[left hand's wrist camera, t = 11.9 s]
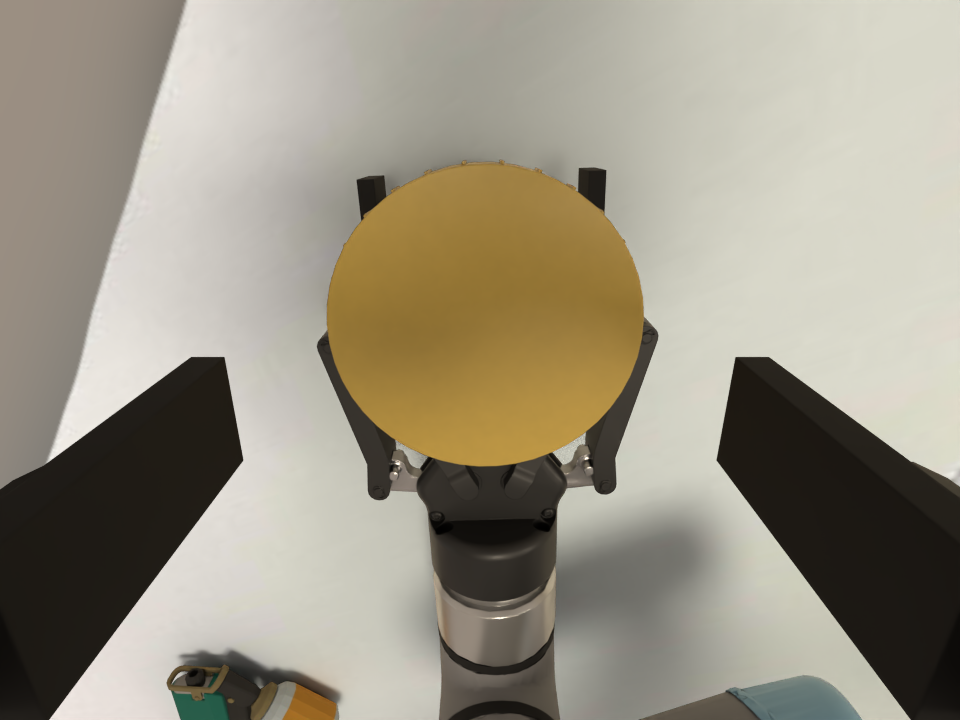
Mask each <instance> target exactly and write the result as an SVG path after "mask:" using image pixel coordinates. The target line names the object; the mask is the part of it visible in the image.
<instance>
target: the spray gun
mask: <svg viewBox="0 0 960 720" xmlns="http://www.w3.org/2000/svg"><path fill="white" fill-rule="evenodd" d="M228 670H229V666H227V665H223V666H222V667H221V668H216V667H201V666H186V665H184V666H179V667H177V668H176V669H175V670H174V671H173V672H172V673H171V675H170V676H169V678H168V680H167V686H168V689H169V690H171V692H172V695H173V698H174V701H175V704H176V707H177V710H178V713H179V716H180V719H181V720H339V712H338V706H337V704H336V703H334V702H332V701H330V700H328V699H326V698H324V697H322V696H320V695H318V694H316V693H314V692H312V691H310V690H308V689H306V688H304V687H302V686H300V685H298V684H296V683H294V682H289V681H285V682H283V683H281V684H278V685H277V684H275V683H273V682H270V683H269V684H267V685H266V686H265V687H263V688H261V689H260V688H259V687H258V686H256V685H255V684H253V683H251V682H250V681H248V680H246V679H245V678H243V677H241V676H240V675H238V674H236V673H235V672H233V671H231V670H229V671H228ZM182 671H189V672H188V673H187V674H185V675H183V676H181V677H179V678H177V679H176V680H175V681H174V682H173V680H174V678H175V677H176V675H177V674H178V673H180V672H182ZM212 673H215V674H214V676H213V675H212ZM218 673H220V674H218ZM172 682H173V684H172Z"/></svg>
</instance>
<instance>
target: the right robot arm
mask: <svg viewBox="0 0 960 720" xmlns="http://www.w3.org/2000/svg"><path fill="white" fill-rule="evenodd" d="M357 187H358V196H359V204H360V213H361V221H362V220H363V219H364V218H365V217H363V216H364V214H366V213H367V212H369V211H370V210H372V209H373V208H374V207H375V206H377V205H378V204H379V203H380V202H381V201H382V200H383V199H384V198H386V190H385V180H384V176H368V177H364V178H361V179H358V180H357ZM605 188H606V170H603V169H599V168H579V180H578V192H579V193H580V194H581V195H582V196H584V197H585V198H586V199H587V200H589V201H590V202H591V203H592V204H594V205H595V206H596V207H598V208H599V209H601V210H603V211H604V209H605ZM657 341H658V333H657V331H656V329H655V328H654V327H653V326H652V325H651V324H650V323H649V322H648V321H647V319H646V318H645V317H644V321H643V332H642V340H641V344H640V349H639V353H638V357H637V360H636V362H635V365H634V368H633V370H632V373H631V375H630V377H629V379H628V381H627V383H626V385H625V387H624V389H623V390H622V392H621V394H620V395H619V396H618V398H617V399H616V401H615V402H614V403H613V405H612V406H611V408H610V409H609V410H608V411H607V412H606V413H605V414H604V415H603V416H602V417H601V419H600V420H599V421H598V422H597V423H595V424H594V425H593V426H592V427H591V428H590V429H588V430H587V431H586V437H585V445H583V444H582V445H579V446H578V448H577V450H576V451H575V452H574V456H573V459H572V461H571V462H569V463H568V464H564V465H562V463H561V462H560V461H559V460H558V458H557V457H556V456H555V455H554V454H553V453H552V452H551V453H549V454H546V455H543V456H541V457H538V458H535V459H532V460H528V461H524V462H520V463H516V464H508V465H501V466H470V465H460V464H455V463H450V462H446V461H441V460H438V459H435V458H432V457H428V458H427V459H426V461H425V462H424V463H423V465H422V466H421V468H420V469H419V468H415V467H413V466H412V465H410V463H409V461H408V458H407V456H406V455H405V454H404V451H403V450H400V449H398V450H396V442H395V439H393V438H392V437H390V436H389V435H388V434H387V433H385V432H384V431H383V430H382V429H380V428H379V427H378V426H377V425H376V424H375V423H374V422H373V421H372V420H371V419H370V418H369V417H368V416H367V415H366V414H365V413H364V412H363V411H362V410H361V408H360V407H359V406H358V404H357V403H356V402H355V401H354V399H353V398H352V397H351V395H350V393H349V391H348V390H347V388H346V386H345V385H344V383H343V381H342V379H341V377H340V374H339V372H338V369H337V367H336V365H335V362H334V359H333V355H332V351H331V348H330V344H329V336H328V330H327V331H326V333H325V334H324V335H323V336H322V337H321V339H320V340H319V341H318V344H317V349H318V352H319V354H320V357H321V359H322V361H323V364H324V366H325V368H326V371H327V373H328V375H329V377H330V380H331V382H332V384H333V387H334V389H335V391H336V394H337V396H338V398H339V400H340V403H341V405H342V407H343V410H344V412H345V414H346V417H347V419H348V421H349V423H350V426H351V428H352V430H353V433H354V435H355V437H356V440H357V442H358V444H359V446H360V449H361V451H362V453H363V456H364V458H365V460H366V463H367V469H368V493H369V495H370V496H371V497H372V498H373V499H375V500H384V499H386V498H387V497H388V496H389V493H390V491H409V492H417V493H418V495H419V497H420V498H421V499H422V501H423V502H424V503H425V505H426V507H427V511H428V519H429V531H430V542H431V554H432V563H433V567H434V573H433V579H434V588H435V598H436V608H437V617H438V629H439V635H440V651H441V673H442V683H441V700H440V713H439V720H560V716H559V708H558V701H557V693H556V685H555V671H554V622H555V608H556V567H555V563H556V546H557V507H558V503H559V501H560V499H561V497H562V496H563V494H564V493H565V491H566V488H573V487H582V486H592V485H594V487H595V490H596V491H597V492H598V493H600V494H609V493H611V492H613V491H614V490H615V488H616V466H615V457H616V454H617V451H618V449H619V446H620V443H621V440H622V438H623V435H624V432H625V429H626V426H627V424H628V421H629V418H630V415H631V413H632V410H633V407H634V404H635V402H636V399H637V396H638V393H639V390H640V388H641V385H642V382H643V379H644V377H645V374H646V371H647V368H648V366H649V363H650V360H651V357H652V355H653V352H654V349H655V346H656V343H657ZM640 720H862V719H861V718H860V716H859V715H858V713H857V712H856V710H855V709H854V708H853V707H852V705H851V704H850V703H849V701H848V700H847V699H846V698H845V697H844V696H843V695H842V694H841V693H840V692H839V691H838V690H837V689H836V688H835V687H834V686H832V685H831V684H830V683H828V682H826V681H825V680H823V679H821V678H818V677H814V676H804V675H802V676H798V677H793V678H789V679H785V680H780V681H776V682H771V683H767V684H762V685H758V686H754V687H749V688H745V689H739V688H735V687H734V688H730V689H728V690H726V691H725V693H722V694H719V695H715V696H712V697H709V698H706V699H703V700H700V701H696V702H693V703H690V704H687V705H684V706H681V707H677V708H674V709H671V710H668V711H665V712H662V713H658V714H655V715H652V716H649V717H646V718H643V719H640Z"/></svg>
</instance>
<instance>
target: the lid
mask: <svg viewBox="0 0 960 720" xmlns="http://www.w3.org/2000/svg"><path fill="white" fill-rule="evenodd" d="M424 173H425V175H423V176H421V177H419V178H417V179H415V180H413V181H411V182H409V183H407V184H405V185H404V186H402V187H400V186H398V187H396V188H394V189H392V190H391V192H392V193H391V194H390V195H388V196H387V197H386V198H384V199H383V200H382V201H381V202H380V203H379V204H378V205H377V206H375V207H374V208H373V209H372V210H370V211H369V212H367V213H366V214H364V216H363V217H365V218H364V219H363V220H362V221H361V222H360V223H359V225H358V226H357V227H356V228H355V230H354V231H353V233H352V234H351V236H350V238H349V239H348V241H347V242H346V243H345V244H344V245H343V247H344V248H343V250H342V252H341V254H340V256H339V259H338V261H337V263H336V265H335V269H334V272H333V276H332V278H331V283H330V287H329V294H328V301H327V329H328V336H329V344H330V348H331V351H332V355H333V359H334V362H335V365H336V367H337V369H338V372H339V374H340V377H341V379H342V381H343V383H344V385H345V386H346V388H347V390H348V391H349V393H350V395H351V397H352V398H353V399H354V401H355V402H356V403H357V404H358V406H359V407H360V408H361V410H362V411H363V412H364V413H365V414H366V415H367V416H368V417H369V418H370V419H371V420H372V421H373V422H374V423H375V424H376V425H377V426H378V427H379V428H380V429H382V430H383V431H384V432H385V433H387V434H388V435H389V436H390V437H392V438H393V439H395V440H397V441H398V442H400V443H402V444H403V445H405V446H406V447H408V448H411V449H413V450H415V451H417V452H419V453H421V454H423V455H426V456H429V457H432V458H435V459H438V460H441V461H446V462H450V463H455V464H460V465H470V466H501V465H508V464H516V463H520V462H524V461H528V460H532V459H535V458H538V457H541V456H543V455H546V454H549V453H551V452H553V451H555V450H557V449H559V448H561V447H563V446H565V445H567V444H569V443H570V442H572V441H573V440H575V439H576V438H578V437H579V436H581V435H582V434H584V433H585V432H586V431H587V430H588V429H590V428H591V427H592V426H593V425H594V424H595V423H597V422H598V421H599V420H600V419H601V417H602V416H603V415H604V414H605V413H606V412H607V411H608V410H609V409H610V408H611V406H612V405H613V403H614V402H615V401H616V399H617V398H618V396H619V395H620V394H621V392H622V390H623V389H624V387H625V385H626V383H627V381H628V379H629V377H630V375H631V373H632V370H633V368H634V365H635V362H636V360H637V357H638V353H639V349H640V344H641V340H642V332H643V321H644V311H643V296H642V291H641V285H640V280H639V276H638V273H637V270H636V267H635V264H634V261H633V258H632V256H631V255H630V253H629V251H628V249H627V247H626V245H625V243H626V242H625V240H624V239H622V238H621V236H620V235H619V233H618V232H617V230H616V229H615V228H614V226H613V225H612V223H611V222H610V221H609V220H608V219H607V218H606V217H605V216H604V213H605V212H604V211H603V210H601V209H599V208H598V207H596V206H595V205H594V204H592V203H591V202H590V201H589V200H587V199H586V198H585V197H584V196H582V195H581V194H580V193H579V192H577V191H575V190H576V187H574V186H572V185H570V184H568V183H567V185H565V184H563V183H562V182H560V181H558V180H556V179H554V178H552V177H550V176H548V175H545V174H543V173H542V170H540V169H538V168H535V170H533V169H529V168H526V167H522V166H518V165H514V164H507V163H504V161H503V160H500V161H499V163H498V162H470V163H467V161H466V160H465V161H462V164H458V165H452V166H448V167H445V168H442V169H439V170H435V171H432V170H431V169H430V170H427V171H426V172H424Z"/></svg>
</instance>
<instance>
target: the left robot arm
mask: <svg viewBox="0 0 960 720" xmlns="http://www.w3.org/2000/svg"><path fill="white" fill-rule="evenodd" d="M242 461H243V455H242V450H241V445H240V439H239V434H238V428H237V423H236V417H235V412H234V407H233V401H232V396H231V390H230V385H229V379H228V374H227V369H226V363H225V358H224V357H191V358H189V359H188V360H187V361H185V362H184V363H183V364H181V365H180V366H178V367H177V368H176V369H174V370H173V371H172V372H170V373H169V374H168V375H166V376H165V377H164V378H162V379H161V380H159V381H158V382H157V383H155V384H154V385H153V386H151V387H150V388H149V389H147V390H146V391H145V392H143V393H142V394H140V395H139V396H138V397H136V398H135V399H134V400H132V401H131V402H130V403H128V404H127V405H126V406H124V407H123V408H121V409H120V410H119V411H117V412H116V413H115V414H113V415H112V416H111V417H109V418H108V419H107V420H105V421H104V422H102V423H101V424H100V425H98V426H97V427H96V428H94V429H93V430H92V431H90V432H89V433H88V434H86V435H85V436H83V437H82V438H81V439H79V440H78V441H77V442H75V443H74V444H73V445H71V446H70V447H69V448H67V449H66V450H64V451H63V452H62V453H60V454H59V455H58V456H56V457H55V458H54V459H52V460H51V461H50V462H48V463H47V464H45V465H44V466H42V467H40V468H38V469H36V470H34V471H32V472H30V473H27V474H25V475H23V476H21V477H19V478H17V479H15V480H13V481H12V482H10V483H9V484H7V485H6V486H4V487H3V488H2V489H0V720H49V719H50V718H51V717H52V715H53V714H54V713H55V711H56V710H57V709H58V707H59V706H60V705H61V703H62V702H63V701H64V699H65V698H66V697H67V695H68V694H69V692H70V691H71V690H72V688H73V687H74V686H75V684H76V683H77V682H78V680H79V679H80V678H81V676H82V675H83V674H84V672H85V671H86V670H87V668H88V667H89V666H90V664H91V663H92V662H93V660H94V659H95V658H96V656H97V655H98V654H99V652H100V651H101V650H102V648H103V647H104V646H105V644H106V643H107V642H108V640H109V639H110V638H111V636H112V635H113V634H114V632H115V631H116V630H117V628H118V627H119V626H120V624H121V623H122V622H123V620H124V619H125V618H126V616H127V615H128V614H129V612H130V611H131V610H132V608H133V607H134V606H135V604H136V603H137V602H138V600H139V599H140V598H141V596H142V595H143V594H144V592H145V591H146V590H147V588H148V587H149V586H150V584H151V583H152V582H153V580H154V579H155V578H156V576H157V575H158V574H159V572H160V571H161V570H162V568H163V567H164V566H165V564H166V563H167V562H168V560H169V559H170V558H171V556H172V555H173V554H174V552H175V551H176V550H177V548H178V547H179V546H180V544H181V543H182V542H183V540H184V539H185V538H186V536H187V535H188V534H189V532H190V531H191V530H192V528H193V527H194V526H195V524H196V523H197V522H198V520H199V519H200V518H201V516H202V515H203V514H204V512H205V511H206V510H207V508H208V507H209V506H210V504H211V503H212V502H213V500H214V499H215V498H216V496H217V495H218V494H219V492H220V491H221V490H222V488H223V487H224V486H225V484H226V483H227V482H228V480H229V479H230V478H231V476H232V475H233V474H234V472H235V471H236V469H237V468H238V467H239V465H240V464H241V463H242ZM717 461H718V463H719V464H720V465H721V467H722V468H723V469H724V471H725V472H726V474H727V475H728V476H729V478H730V479H731V480H732V482H733V483H734V484H735V486H736V487H737V488H738V490H739V491H740V492H741V494H742V495H743V496H744V498H745V499H746V500H747V502H748V503H749V504H750V506H751V507H752V508H753V510H754V511H755V512H756V514H757V515H758V516H759V518H760V519H761V520H762V522H763V523H764V524H765V526H766V527H767V528H768V530H769V531H770V532H771V534H772V535H773V536H774V538H775V539H776V540H777V542H778V543H779V544H780V546H781V547H782V548H783V550H784V551H785V552H786V554H787V555H788V556H789V558H790V559H791V560H792V562H793V563H794V564H795V566H796V567H797V568H798V570H799V571H800V572H801V574H802V575H803V576H804V578H805V579H806V580H807V582H808V583H809V584H810V586H811V587H812V588H813V590H814V591H815V592H816V594H817V595H818V596H819V598H820V599H821V600H822V602H823V603H824V604H825V606H826V607H827V608H828V610H829V611H830V612H831V614H832V615H833V616H834V618H835V619H836V620H837V622H838V623H839V624H840V626H841V627H842V628H843V630H844V631H845V632H846V634H847V635H848V636H849V638H850V639H851V640H852V642H853V643H854V644H855V646H856V647H857V648H858V650H859V651H860V652H861V654H862V655H863V656H864V658H865V659H866V660H867V662H868V663H869V664H870V666H871V667H872V668H873V670H874V671H875V672H876V674H877V675H878V676H879V678H880V679H881V680H882V682H883V683H884V684H885V686H886V687H887V688H888V690H889V691H890V693H891V694H892V695H893V697H894V698H895V699H896V701H897V702H898V703H899V705H900V706H901V707H902V709H903V710H904V711H905V713H906V714H907V715H908V717H909V718H910V719H911V720H960V487H959V486H958V485H956V484H955V483H954V482H952V481H951V480H949V479H948V478H946V477H944V476H942V475H940V474H938V473H935V472H933V471H931V470H929V469H927V468H925V467H923V466H921V465H919V464H917V463H914V462H910V461H909V460H908V459H906V458H905V457H904V456H902V455H901V454H900V453H898V452H897V451H896V450H894V449H893V448H891V447H890V446H889V445H887V444H886V443H885V442H883V441H882V440H881V439H879V438H878V437H877V436H875V435H874V434H872V433H871V432H870V431H868V430H867V429H866V428H864V427H863V426H862V425H860V424H859V423H858V422H856V421H855V420H853V419H852V418H851V417H849V416H848V415H847V414H845V413H844V412H843V411H841V410H840V409H839V408H837V407H836V406H834V405H833V404H832V403H830V402H829V401H828V400H826V399H825V398H824V397H822V396H821V395H820V394H818V393H817V392H815V391H814V390H813V389H811V388H810V387H809V386H807V385H806V384H805V383H803V382H802V381H801V380H799V379H798V378H796V377H795V376H794V375H792V374H791V373H790V372H788V371H787V370H786V369H784V368H783V367H782V366H780V365H779V364H777V363H776V362H775V361H773V360H772V359H771V358H769V357H736V358H735V363H734V369H733V374H732V379H731V385H730V390H729V396H728V401H727V407H726V412H725V417H724V423H723V428H722V434H721V439H720V445H719V450H718V455H717Z"/></svg>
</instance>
